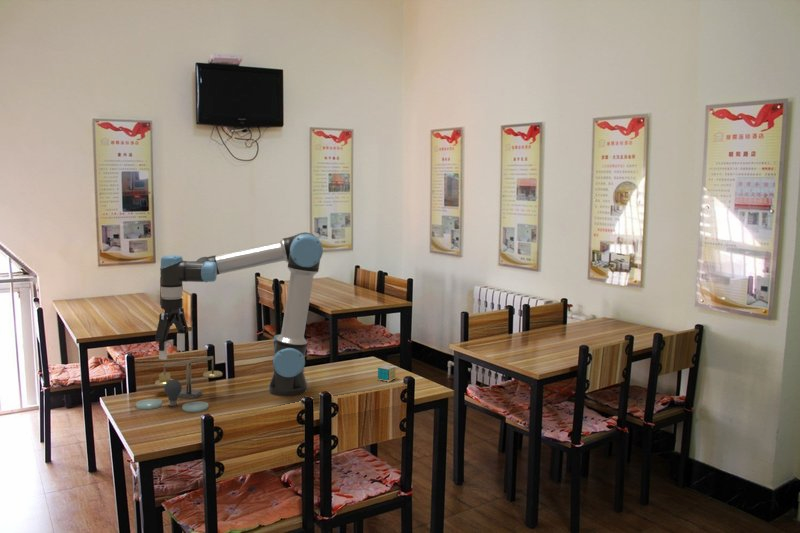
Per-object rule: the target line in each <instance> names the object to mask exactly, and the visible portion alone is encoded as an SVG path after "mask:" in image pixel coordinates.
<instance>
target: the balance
mask: <svg viewBox="0 0 800 533" xmlns="http://www.w3.org/2000/svg"><path fill="white" fill-rule="evenodd" d="M210 360H211V370H209V371H205V372H203V373H202V375H203V378H208V379H210V378H211V379H214V378H219V377H223V372H222V371H220V370H214V369H215V368H214V355H210V356H204V357H198V358H193V359H187V360H186V359H185V360H181V361H174V362H169V363H164V364H163V372H161V373H160V374H158V375H159V376H158V379H157V380H155V382H154V383H155V386H159V387H161V386H163V387H165V384H166V383H167V382H168V381H170V380H175V379H173V378H171V372H167V371H166V368H169V367H173V366H181V365H185V378H186V379H185V380H186V382H185V383H186V387H185V388H182V389H181V392H180V393H179V395H178V398H183V399H197V398H198V397H200V396H201V395H202V394H203V390H202V389H193V388H192V364H193V363H199V362H206V361H210Z"/></svg>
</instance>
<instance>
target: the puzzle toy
mask: <svg viewBox="0 0 800 533" xmlns="http://www.w3.org/2000/svg"><path fill="white" fill-rule="evenodd" d="M396 370H397V369H396V367H395V366H391V365H388V364H384V365H381V366H380V367H377V379H378V378H379V379H383V380H391V379H393V378H395V379H396Z"/></svg>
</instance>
